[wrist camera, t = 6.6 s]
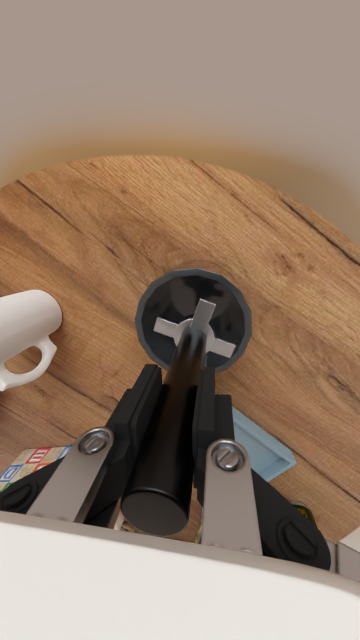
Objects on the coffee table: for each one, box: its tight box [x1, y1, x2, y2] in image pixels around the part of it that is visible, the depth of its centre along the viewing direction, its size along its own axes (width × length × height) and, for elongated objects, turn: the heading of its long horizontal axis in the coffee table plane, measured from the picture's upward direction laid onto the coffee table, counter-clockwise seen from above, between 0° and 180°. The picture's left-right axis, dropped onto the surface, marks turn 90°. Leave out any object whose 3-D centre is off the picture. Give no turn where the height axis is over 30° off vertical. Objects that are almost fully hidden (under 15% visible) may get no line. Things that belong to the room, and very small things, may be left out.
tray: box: [232, 406, 296, 482], centre depth 33 cm, size 17×13×2 cm
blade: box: [120, 298, 236, 536], centre depth 12 cm, size 6×6×13 cm
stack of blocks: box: [0, 446, 124, 530], centre depth 34 cm, size 21×6×12 cm, turn 105°
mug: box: [0, 290, 62, 391], centre depth 25 cm, size 10×7×12 cm, turn 38°
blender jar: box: [135, 260, 252, 374], centre depth 24 cm, size 10×10×8 cm
